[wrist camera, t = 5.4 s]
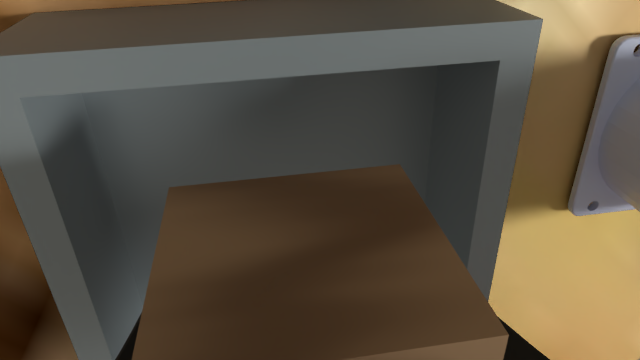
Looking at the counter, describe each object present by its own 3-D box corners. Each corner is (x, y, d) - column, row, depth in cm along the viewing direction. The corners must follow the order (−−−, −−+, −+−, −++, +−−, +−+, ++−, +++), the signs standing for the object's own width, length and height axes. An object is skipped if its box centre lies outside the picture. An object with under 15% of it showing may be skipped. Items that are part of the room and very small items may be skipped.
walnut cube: (400, 164, 11) (508, 334, 7) (390, 326, 13) (464, 526, 9) (168, 187, 10) (124, 391, 6) (203, 352, 13) (189, 580, 9)
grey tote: (464, -13, 17) (543, 19, 13) (423, 348, 26) (461, 438, 22) (33, 13, 15) (-44, 58, 11) (150, 389, 24) (133, 495, 20)
